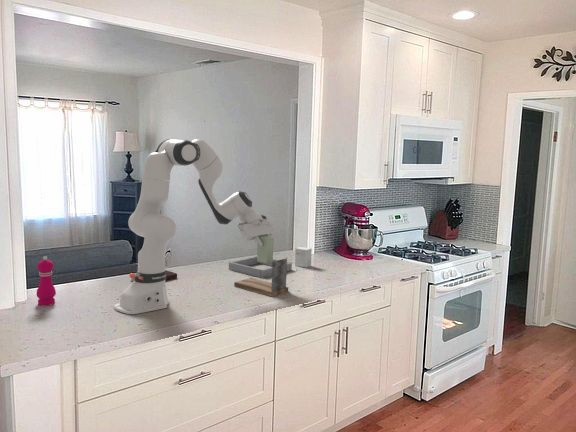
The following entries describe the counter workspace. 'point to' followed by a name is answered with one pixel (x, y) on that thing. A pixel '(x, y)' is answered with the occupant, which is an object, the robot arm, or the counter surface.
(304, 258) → the small box
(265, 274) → the gray square frame
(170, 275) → the book
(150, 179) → the robot arm
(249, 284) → the bookend
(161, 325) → the counter surface
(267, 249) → the sage green box
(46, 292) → the pepper mill
